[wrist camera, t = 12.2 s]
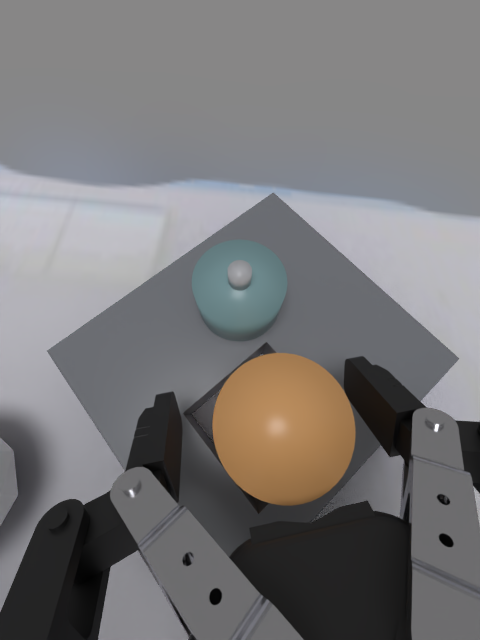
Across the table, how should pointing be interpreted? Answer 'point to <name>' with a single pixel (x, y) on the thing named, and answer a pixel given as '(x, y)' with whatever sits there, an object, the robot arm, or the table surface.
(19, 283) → the table surface
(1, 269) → the table surface
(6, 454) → the ball
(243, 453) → the orange capsule
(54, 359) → the block
